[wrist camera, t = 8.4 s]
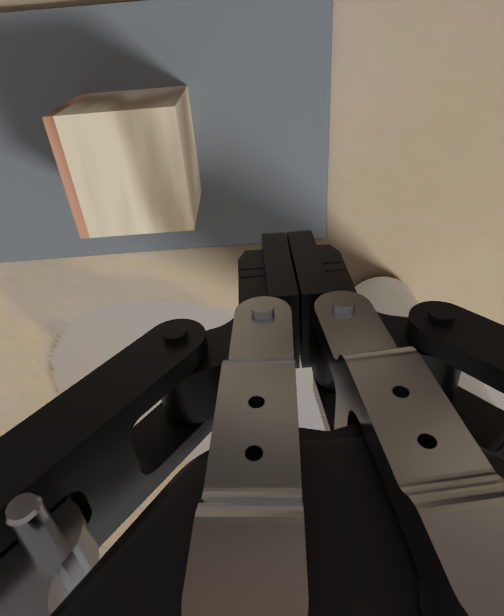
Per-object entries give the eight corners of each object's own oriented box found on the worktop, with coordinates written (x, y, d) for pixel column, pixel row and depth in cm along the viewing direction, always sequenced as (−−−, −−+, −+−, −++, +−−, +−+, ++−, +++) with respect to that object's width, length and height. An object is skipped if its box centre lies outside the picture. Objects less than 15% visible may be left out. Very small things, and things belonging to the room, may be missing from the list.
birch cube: (175, 106, 20) (41, 116, 20) (194, 230, 23) (80, 238, 23) (187, 85, 25) (80, 93, 25) (201, 189, 28) (107, 197, 28)
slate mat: (331, -16, 23) (333, -16, 22) (325, 235, 31) (326, 237, 30) (-131, 24, 23) (-137, 24, 23) (-19, 261, 31) (-22, 264, 31)
